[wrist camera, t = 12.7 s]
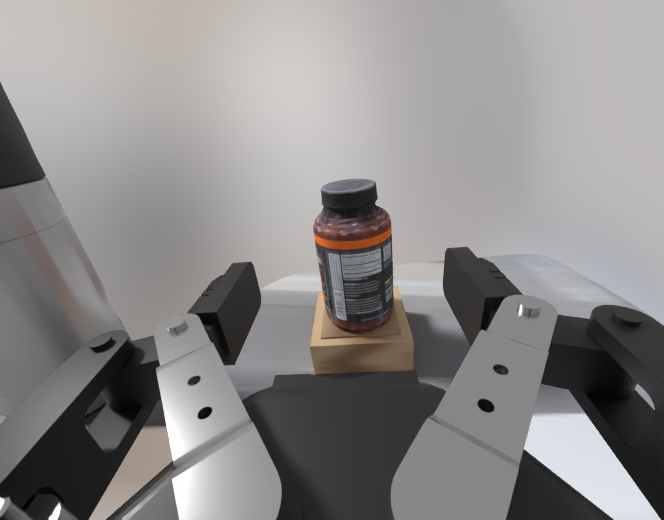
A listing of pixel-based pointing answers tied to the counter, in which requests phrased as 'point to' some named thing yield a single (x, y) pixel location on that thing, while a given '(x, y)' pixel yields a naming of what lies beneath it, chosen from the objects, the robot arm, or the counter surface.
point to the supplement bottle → (354, 255)
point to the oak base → (362, 343)
